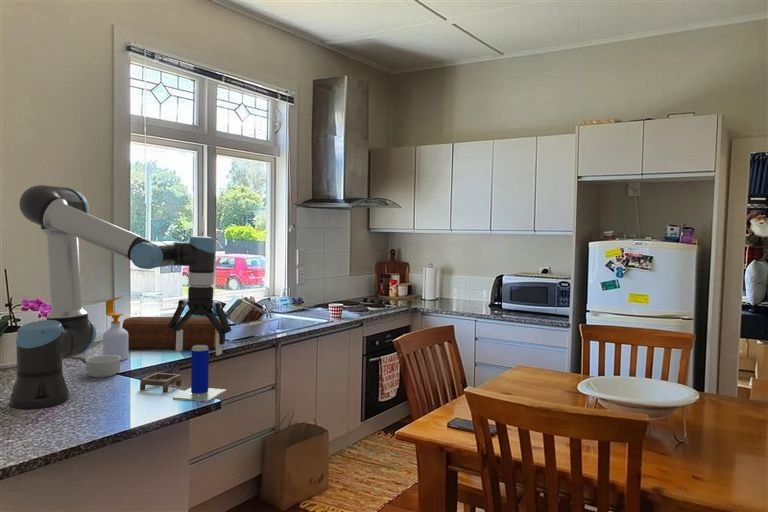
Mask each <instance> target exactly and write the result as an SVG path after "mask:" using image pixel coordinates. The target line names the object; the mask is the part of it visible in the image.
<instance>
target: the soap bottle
mask: <svg viewBox="0 0 768 512" xmlns="http://www.w3.org/2000/svg"><path fill="white" fill-rule="evenodd" d="M122 298H123V297H122V296H120V297H119V296H118V297H114V298H111V299H107V300H106V302H105V314H106V316H107V317H108V316H109V317H111V318H112V319H113V320H111V321H110V327H109V328H108V329H106V330H105V331H104V332H103V334H102V356H104V355H114V356H120V357H121V359H120V362H121V361H122V362H123V361H125V360H128V358H129V350H128V332H127V331H126V330H125V329H123V328H122V326H121V321H120V320H119V318H120V317H122V316H123V315H124V313H116V312H115V311H114V307H115V306H114V305H115V304H114V303H115V301H116V300H119V299H122Z"/></svg>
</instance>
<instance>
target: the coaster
mask: <svg viewBox="0 0 768 512" xmlns="http://www.w3.org/2000/svg"><path fill="white" fill-rule="evenodd" d="M226 392H227V389H224V388H211V387H208V392H207V393H206V394H204V395H199V396H198V395H193V394H189V393H192V392H191V387H188V388H187V389H185V390H183V391H181V392H179V393H178V394H176V395H174V396H172V397H171V399H172V398H173V399H172V400H176V399H183V400H182V401H188V400H196V401H195V402H199V401H205V402H204V403H209V402H208V401H210V400H211V401H212V399H213V400H215V399H216V398H218V397H219V396H221V395H222V394H224V393H226ZM207 397H208V398H207ZM186 399H187V400H186ZM211 401H210V402H211Z"/></svg>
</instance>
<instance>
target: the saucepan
mask: <svg viewBox="0 0 768 512" xmlns="http://www.w3.org/2000/svg"><path fill="white" fill-rule="evenodd" d="M67 359H72V360H77V361H80V362H82V363H83V364H85V365H86V375H88V376H90V377H93V378H106V377H112V376H115V375H116V374H118V373H120V371H121V361H120V359H121V357H120V356H114V355H104V356H103V355H96V356H92V357H87V358H86V357H83V356H82V357H81V356H76V355H75V356H71V357H68V358H67Z"/></svg>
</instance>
